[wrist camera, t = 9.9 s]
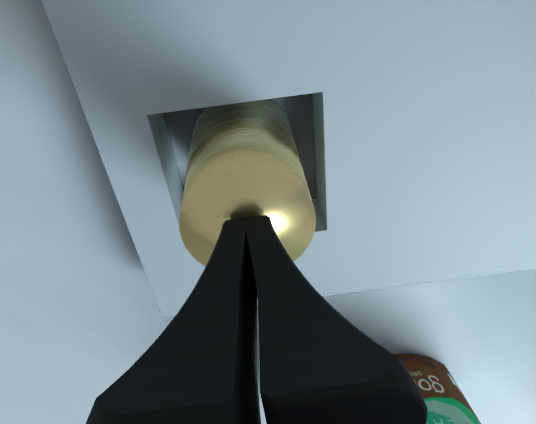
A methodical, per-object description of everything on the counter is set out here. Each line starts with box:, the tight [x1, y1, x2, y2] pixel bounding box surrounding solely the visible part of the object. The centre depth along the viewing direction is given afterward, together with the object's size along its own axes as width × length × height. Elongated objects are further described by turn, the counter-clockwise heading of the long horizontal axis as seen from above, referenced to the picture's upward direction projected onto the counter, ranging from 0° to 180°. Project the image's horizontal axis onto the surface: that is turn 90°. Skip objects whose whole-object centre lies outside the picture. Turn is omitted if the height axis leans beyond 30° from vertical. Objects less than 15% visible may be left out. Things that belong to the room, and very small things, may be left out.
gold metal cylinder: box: [179, 99, 316, 267], centre depth 16 cm, size 4×4×6 cm
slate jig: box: [41, 0, 536, 318], centre depth 17 cm, size 22×14×2 cm, turn 96°
